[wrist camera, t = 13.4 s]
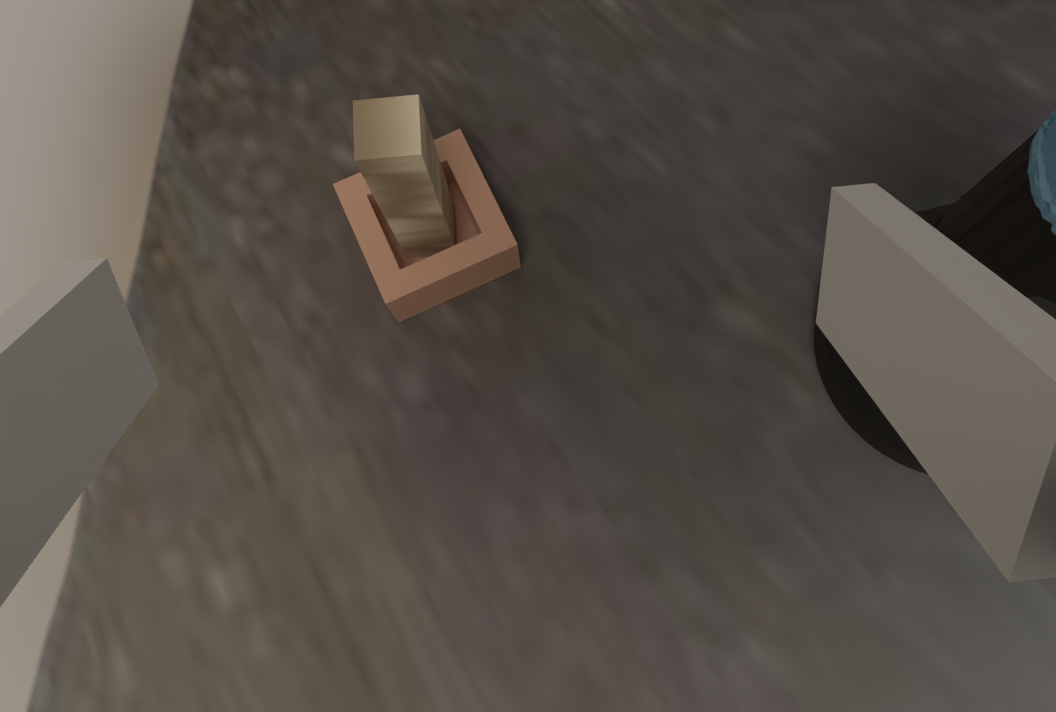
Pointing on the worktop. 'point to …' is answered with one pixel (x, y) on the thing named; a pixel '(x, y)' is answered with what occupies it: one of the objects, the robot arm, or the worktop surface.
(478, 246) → the orange-brown square frame
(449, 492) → the worktop surface
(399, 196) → the beige tall square post
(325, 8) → the worktop surface
